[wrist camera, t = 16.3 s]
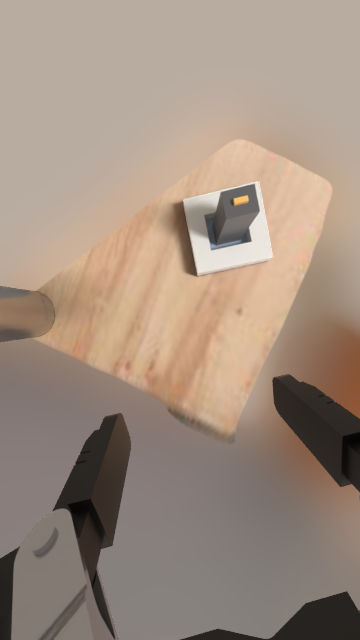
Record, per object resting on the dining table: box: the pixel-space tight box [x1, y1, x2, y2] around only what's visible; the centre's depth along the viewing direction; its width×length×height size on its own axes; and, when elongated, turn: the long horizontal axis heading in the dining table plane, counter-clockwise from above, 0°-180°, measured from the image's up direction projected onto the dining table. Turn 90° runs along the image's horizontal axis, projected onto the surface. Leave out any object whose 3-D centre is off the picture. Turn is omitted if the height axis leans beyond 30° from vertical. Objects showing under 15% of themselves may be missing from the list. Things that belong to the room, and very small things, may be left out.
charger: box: [212, 184, 260, 246], centre depth 27 cm, size 4×4×9 cm
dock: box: [183, 181, 273, 277], centre depth 32 cm, size 13×13×2 cm
